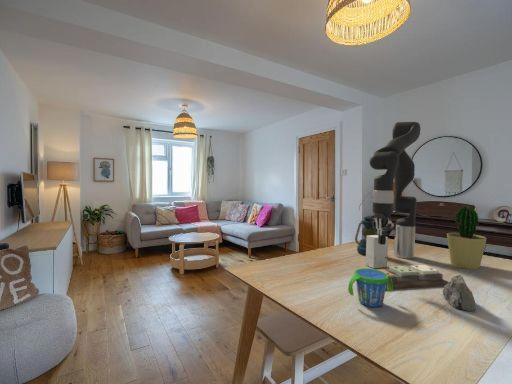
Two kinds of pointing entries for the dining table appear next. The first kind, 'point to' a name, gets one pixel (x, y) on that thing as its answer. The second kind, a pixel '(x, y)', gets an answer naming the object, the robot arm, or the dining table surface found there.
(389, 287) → the snack cup
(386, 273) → the orange flat square block
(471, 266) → the potted cactus
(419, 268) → the cream button
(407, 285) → the button panel
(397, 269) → the sage button
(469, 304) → the mineral rock
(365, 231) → the lantern
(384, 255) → the skincare box
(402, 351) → the dining table surface
